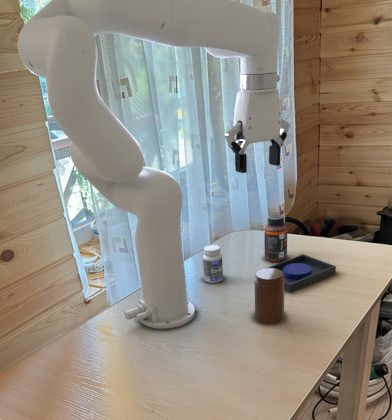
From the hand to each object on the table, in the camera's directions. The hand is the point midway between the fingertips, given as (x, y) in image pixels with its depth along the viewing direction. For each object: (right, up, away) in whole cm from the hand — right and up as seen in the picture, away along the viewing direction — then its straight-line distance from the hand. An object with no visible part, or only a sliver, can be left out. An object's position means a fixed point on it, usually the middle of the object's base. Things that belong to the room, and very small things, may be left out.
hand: (258, 168), depth 116 cm
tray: (+11, -23, +12) cm, 28 cm away
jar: (+2, -34, -5) cm, 34 cm away
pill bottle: (-9, -23, +14) cm, 29 cm away
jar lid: (+11, -21, +11) cm, 26 cm away
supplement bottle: (+7, -17, +22) cm, 29 cm away
